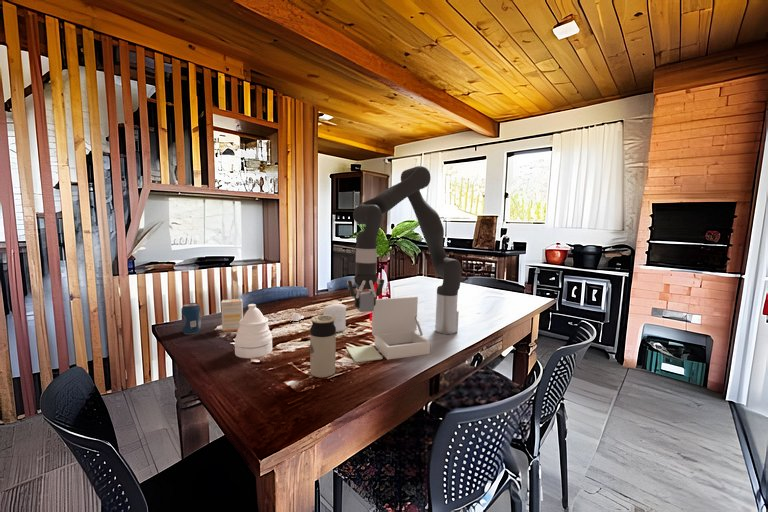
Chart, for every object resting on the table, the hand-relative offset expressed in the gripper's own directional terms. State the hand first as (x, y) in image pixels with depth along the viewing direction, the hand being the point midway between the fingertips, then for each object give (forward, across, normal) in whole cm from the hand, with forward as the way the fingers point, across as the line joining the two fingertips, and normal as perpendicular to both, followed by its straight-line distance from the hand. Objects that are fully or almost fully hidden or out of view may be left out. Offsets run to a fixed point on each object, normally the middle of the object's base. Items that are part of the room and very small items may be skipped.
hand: (364, 307), depth 120 cm
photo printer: (+18, +5, -28) cm, 34 cm away
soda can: (+18, +63, -44) cm, 79 cm away
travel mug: (+18, +17, +10) cm, 27 cm away
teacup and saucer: (+19, +16, -47) cm, 53 cm away
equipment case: (+18, -15, 0) cm, 23 cm away
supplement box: (+18, +47, -43) cm, 66 cm away
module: (+1, 0, 0) cm, 1 cm away
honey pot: (+18, +38, -15) cm, 45 cm away
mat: (+18, 0, 0) cm, 18 cm away
